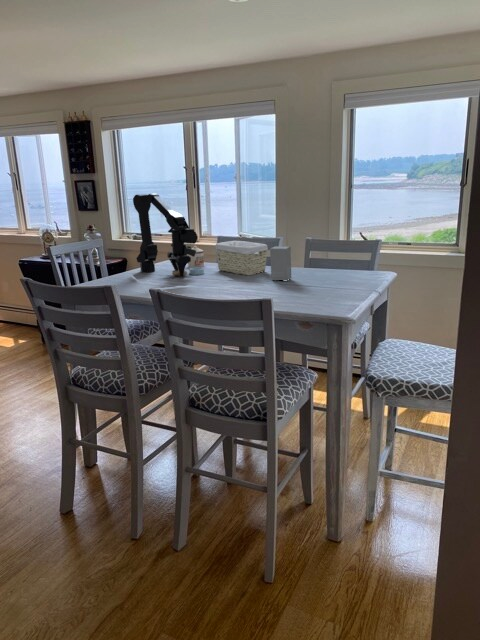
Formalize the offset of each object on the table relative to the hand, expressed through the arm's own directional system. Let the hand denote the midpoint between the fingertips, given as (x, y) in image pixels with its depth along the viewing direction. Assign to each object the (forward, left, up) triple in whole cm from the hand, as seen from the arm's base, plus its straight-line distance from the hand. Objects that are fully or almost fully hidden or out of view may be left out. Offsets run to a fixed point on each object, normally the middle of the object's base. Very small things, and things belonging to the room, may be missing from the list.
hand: (179, 274), depth 231 cm
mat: (0, 0, -2) cm, 2 cm away
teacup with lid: (+19, +26, -2) cm, 32 cm away
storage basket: (+34, +1, -2) cm, 34 cm away
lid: (0, 0, 0) cm, 0 cm away
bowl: (+10, +3, -2) cm, 11 cm away
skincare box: (+41, -28, -2) cm, 50 cm away
